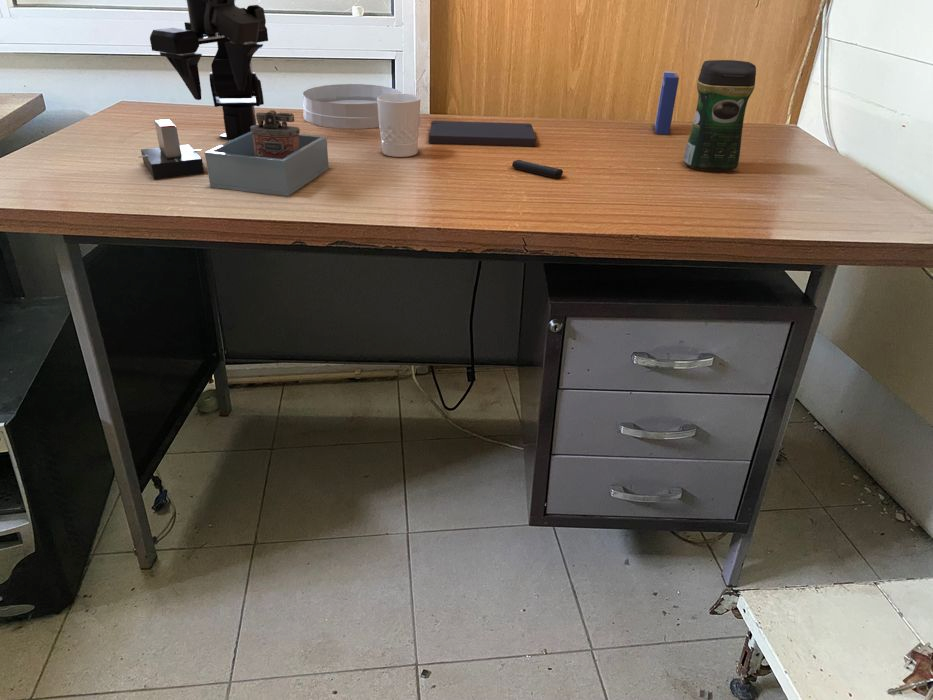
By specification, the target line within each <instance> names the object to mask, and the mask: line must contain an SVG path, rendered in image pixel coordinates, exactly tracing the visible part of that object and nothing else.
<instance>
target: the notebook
mask: <svg viewBox="0 0 933 700" xmlns="http://www.w3.org/2000/svg"><path fill="white" fill-rule="evenodd" d="M428 144H439V145H440V144H443V145H473V146H474V145H479V146H507V147H509V146H510V147H536V145H537V138H536V134H535V131H534V128H533V125H532V124H531V123H523V122H522V123H521V122H492V121H491V122H490V121H489V122H488V121H461V120H460V121H458V120H457V121H456V120H432V121H431V124H430V127H429V134H428Z"/></svg>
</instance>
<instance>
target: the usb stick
mask: <svg viewBox="0 0 933 700" xmlns="http://www.w3.org/2000/svg"><path fill="white" fill-rule="evenodd" d="M511 167H512V168H513V169H515V170H516V169H517V170H520V171H525V172H528V173H533V174H536V175H541V176H545V177H549V178H553V179H559V178H561V177H562V176H563V173H564V171H563V168H558V167H553V166H547V165H544V164H539V163H536V162H535V163H534V162H530V161H525V160H521V159H516V160H513V162H512V165H511Z"/></svg>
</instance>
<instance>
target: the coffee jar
mask: <svg viewBox="0 0 933 700" xmlns="http://www.w3.org/2000/svg"><path fill="white" fill-rule="evenodd" d="M756 76H757V66H756V64H754V63H752V62H751V61H746V60H736V59H735V60H734V59H712V60H710V59H709V60H704V62H703V63H702V65H701V68H700V72H699V75H698V78H697V82H696V88H697V95H698V96H697V104H696V109H695V114H694V118H693V121H692V125H691V129H690V132H689V135H688V139H687V142H686V146H685V149H684V153H683V163H684V165H685V166H686V167H687V168H691V169H694V170H698V171H704V172H730V171H733V170H736V169H737V168H738V166H739V161H740V157H741V156H740V155H741V146H742V136H743V129H744V128H743V127H744V120H745V114H746V109H747V105H748V101H749V99H750V97H751V96H752V94H753V92H754V90H755V88H756Z"/></svg>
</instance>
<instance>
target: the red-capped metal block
mask: <svg viewBox="0 0 933 700" xmlns="http://www.w3.org/2000/svg"><path fill="white" fill-rule="evenodd" d="M154 127H155V132H156V136H157V142H158V146H159V147H160V150H161V152H162V153H163V154H164V156H165V157H166V158H167V159H170V158H179V157H182V155H181V150H180V145H181V144H180V139H179V133H178V127H177V126H176V125H175V124H174V123H173V122H172V121H171V120H170V119H169V118H167V119H154ZM159 147H158V148H159Z"/></svg>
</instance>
